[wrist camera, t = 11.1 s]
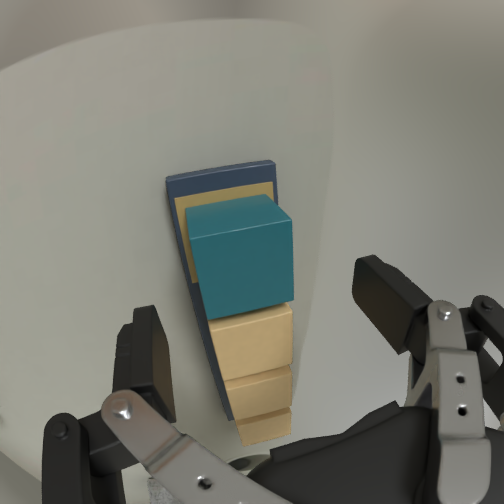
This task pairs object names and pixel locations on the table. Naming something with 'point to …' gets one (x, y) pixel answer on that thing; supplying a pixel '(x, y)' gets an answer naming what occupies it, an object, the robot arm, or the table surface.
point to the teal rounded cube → (241, 254)
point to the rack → (242, 324)
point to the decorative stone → (160, 494)
